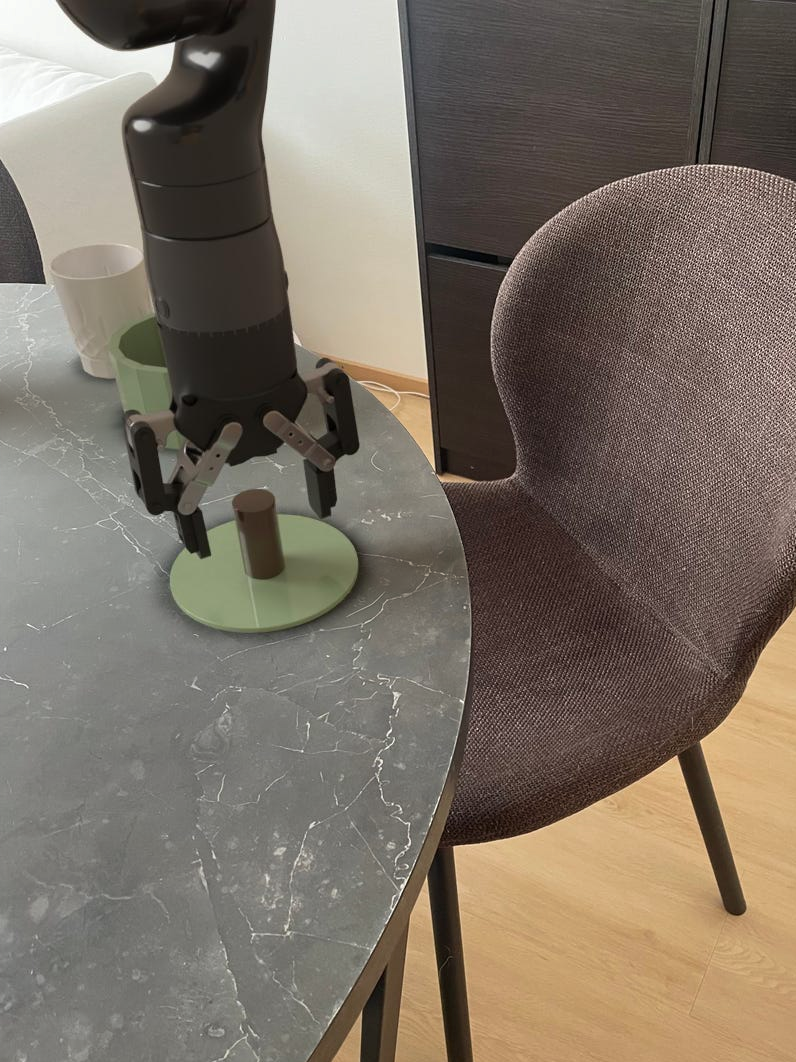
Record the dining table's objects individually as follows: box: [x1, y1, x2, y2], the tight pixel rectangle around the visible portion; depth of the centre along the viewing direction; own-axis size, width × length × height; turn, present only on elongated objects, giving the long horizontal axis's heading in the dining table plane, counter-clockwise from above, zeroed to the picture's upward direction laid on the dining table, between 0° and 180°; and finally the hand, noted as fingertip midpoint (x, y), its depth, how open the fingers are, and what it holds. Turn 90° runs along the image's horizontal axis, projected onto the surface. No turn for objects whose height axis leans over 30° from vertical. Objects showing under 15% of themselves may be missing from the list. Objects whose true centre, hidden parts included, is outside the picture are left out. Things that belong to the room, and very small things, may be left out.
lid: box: [169, 488, 359, 634], centre depth 70 cm, size 13×13×7 cm
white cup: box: [48, 242, 155, 380], centre depth 92 cm, size 8×8×10 cm
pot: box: [108, 312, 185, 451], centre depth 86 cm, size 12×12×8 cm
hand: (262, 531), depth 70 cm, fingers open, 8 cm apart
